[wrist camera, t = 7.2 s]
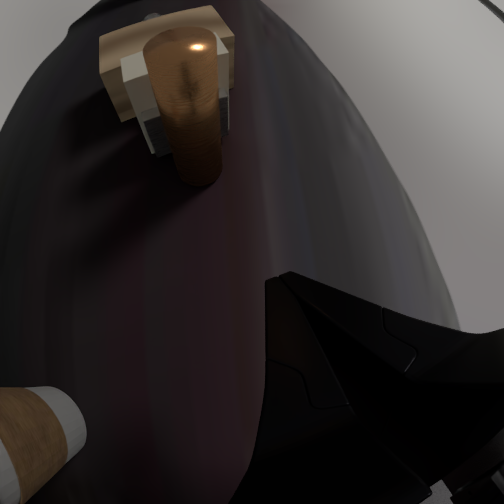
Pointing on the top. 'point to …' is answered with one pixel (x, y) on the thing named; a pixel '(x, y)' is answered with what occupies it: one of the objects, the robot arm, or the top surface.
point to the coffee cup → (35, 439)
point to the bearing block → (139, 34)
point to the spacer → (142, 89)
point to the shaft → (186, 101)
